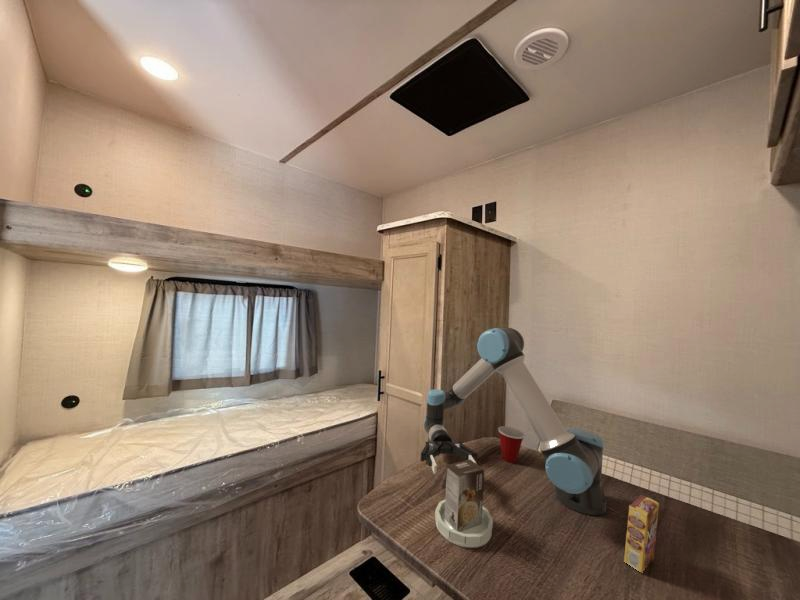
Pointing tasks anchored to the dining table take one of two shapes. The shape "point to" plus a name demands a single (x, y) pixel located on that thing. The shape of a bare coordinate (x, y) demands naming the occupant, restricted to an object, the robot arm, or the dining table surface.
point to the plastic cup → (510, 443)
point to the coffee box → (464, 495)
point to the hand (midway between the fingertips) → (456, 469)
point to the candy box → (641, 533)
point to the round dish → (467, 537)
